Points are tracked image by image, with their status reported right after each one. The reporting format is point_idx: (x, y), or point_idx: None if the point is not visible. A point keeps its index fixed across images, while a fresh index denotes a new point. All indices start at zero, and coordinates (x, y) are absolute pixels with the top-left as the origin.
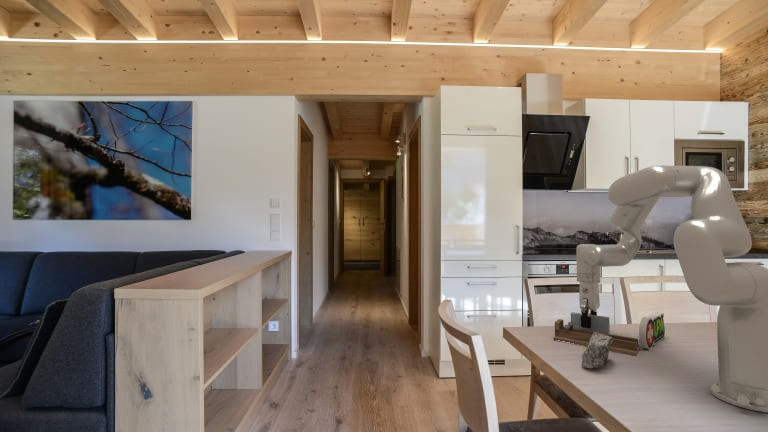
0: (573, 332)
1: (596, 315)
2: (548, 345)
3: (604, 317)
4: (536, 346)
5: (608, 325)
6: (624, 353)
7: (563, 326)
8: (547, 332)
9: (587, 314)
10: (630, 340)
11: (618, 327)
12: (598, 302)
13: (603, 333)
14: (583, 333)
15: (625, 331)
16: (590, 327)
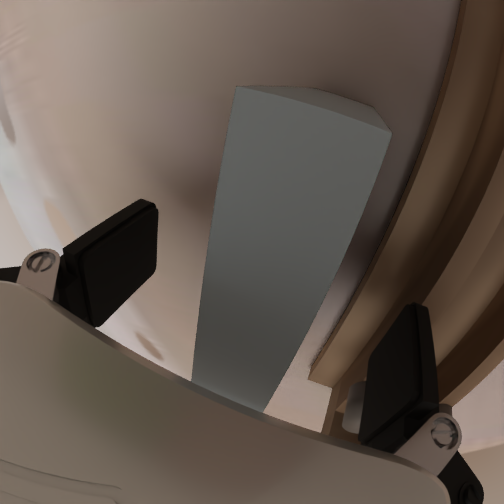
0: (469, 391)
1: (209, 285)
2: (489, 415)
3: (317, 187)
4: (492, 435)
5: (361, 111)
6: None
7: (336, 411)
8: (296, 400)
9: (449, 461)
10: None
11: (32, 65)
12: (12, 426)
13: (493, 197)
14: (497, 349)
15: (72, 19)
16: (425, 312)
